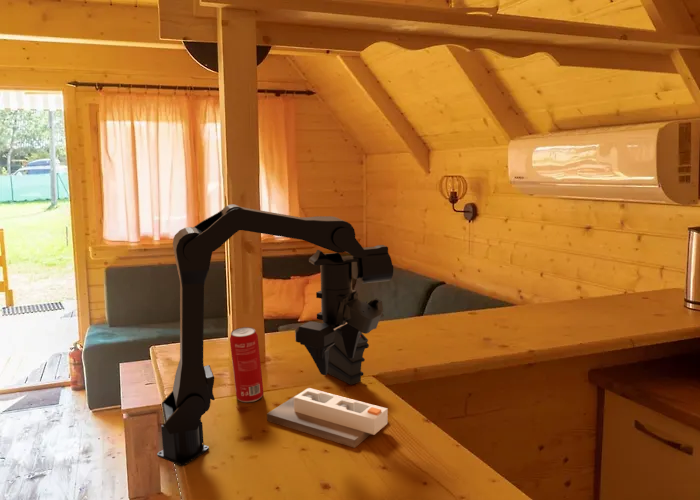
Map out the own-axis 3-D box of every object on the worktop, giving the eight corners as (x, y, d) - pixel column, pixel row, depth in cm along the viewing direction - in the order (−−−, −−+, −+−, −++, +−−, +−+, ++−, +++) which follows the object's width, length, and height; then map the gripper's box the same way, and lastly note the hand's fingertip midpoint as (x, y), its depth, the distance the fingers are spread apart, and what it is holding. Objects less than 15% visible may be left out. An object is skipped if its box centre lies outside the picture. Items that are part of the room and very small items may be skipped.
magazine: (324, 356, 147) (340, 308, 140) (356, 395, 140) (375, 346, 132) (311, 360, 145) (327, 312, 137) (343, 399, 137) (362, 350, 130)
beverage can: (269, 394, 131) (266, 328, 128) (249, 406, 125) (246, 337, 122) (247, 389, 134) (244, 323, 131) (227, 400, 128) (223, 332, 125)
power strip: (374, 434, 111) (374, 417, 110) (294, 411, 120) (293, 395, 119) (387, 423, 115) (387, 406, 114) (309, 401, 124) (308, 385, 123)
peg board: (354, 447, 109) (354, 427, 108) (267, 420, 119) (266, 401, 119) (386, 420, 119) (386, 401, 118) (303, 397, 129) (302, 379, 129)
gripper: (346, 305, 100) (347, 394, 103) (398, 280, 116) (398, 358, 119) (292, 296, 106) (294, 380, 109) (348, 273, 121) (349, 347, 125)
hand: (337, 366), depth 115 cm, fingers open, 9 cm apart
